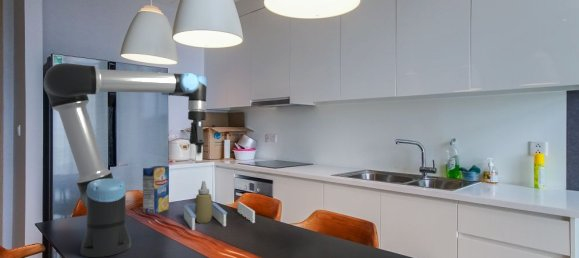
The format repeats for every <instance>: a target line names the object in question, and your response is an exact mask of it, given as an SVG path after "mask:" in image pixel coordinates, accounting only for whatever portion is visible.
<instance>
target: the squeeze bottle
mask: <svg viewBox="0 0 579 258" xmlns="http://www.w3.org/2000/svg"><path fill="white" fill-rule="evenodd" d="M197 192H198V194H196V197H195V203H196V204H195V215H196V218H195V221H196V223H199V224H207V223H211V221H212V218H213V207H212V203H213V199H212V194H210V189H209V188H207V183H206V181H205V180H204V181H203V180H202V182H201V187H200V189H199V188H198V191H197Z"/></svg>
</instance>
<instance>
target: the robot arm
mask: <svg viewBox="0 0 579 258" xmlns="http://www.w3.org/2000/svg"><path fill="white" fill-rule="evenodd" d="M42 86H43V89H44V91H45V93H46V94H47V97H48V100H49V103H50V106H51V109H53V110H54V111H57V112H58V114H59V116H60V120H61V123H62V126H63V129H64V133H65V136H66V139H67V141H68V144H69V148H70V151H71V153H72V157H73V160H74V163H75V165H76V169H77V172H78V175H79V176H78V178H77V179H76V185H77V188H78V190H79V194H80V196H79V197H80V200H81V203H82V204H83V206H85V208H86V231H85V234H84V236H83V240H82V242H81V245H80V255H81V256H83V257H87V258H102V257H109V256H114V255H117V254H121V253H125V252H126V251H128V250H129V249H130V248H131V247H132V239H131V236H130V234H129V232H128V228H127V225H126V193H127V188H126V183H125V182H124V181H123V180H121V179H116V178H114V177H113V173H112V171H111V170H109V169H108V168H106V166H105V162H104V160H103V157H102V156H103V155H102V154H101V151H100V147H99V144H98V141H97V138H96V134H95V131H94V128H93V125H92V122H91V119H90V115H89V112H88V108H87V106H88V105H87V104H89V102H90V100H89V96H88V95H97V94H98V93H99V92H103V93H106V92H107V93H108V92H109V93H155V94H156V93H160V94H161V95H164V96H169V97H170V96H174V97H175V96H176V97H185V98H186V97H187V98H188V99H187V100H188V101H187V102H188V103H187V110H188V112H187V120H189V121H192V122H190V134H189V141H188V142H189V159H195V162H196V161H197V162H202V161H203V152H204V151H203V150H204V149H203V145H204V144H205V137H204V127H203V126H204V122H203V121H205V120H207V119H206V117H207V112H206V110H207V106H208V104H207V88H208V87H207V86H208V84H207V77H206V76H205V75H199V74H198V75H196V74H194V73H192V72H185V73H172V72H171V73H170V72H156V71H155V72H154V71H139V70H138V71H136V70H135V71H134V70H119V69H103V68H102V69H101V68H98V67H96V65H86V64H77V63H69V62H62V63H61V62H60V63H56V64H54V65H52V66H51V67H49V68H48V69H47V71H46V73H45V76H44V78H43V82H42Z"/></svg>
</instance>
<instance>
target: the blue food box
mask: <svg viewBox="0 0 579 258" xmlns="http://www.w3.org/2000/svg"><path fill="white" fill-rule="evenodd" d="M169 187H170V166H168V165H167V166H166V165H155V166H147V167H143V168H142V213H143V212H144V213H143V214H151V213H153V214H154V215H155V214H158V213H161V212H163V211H167V210H169V208H170V197H169V196H170V194H169V193H170V188H169Z"/></svg>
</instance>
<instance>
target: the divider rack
mask: <svg viewBox="0 0 579 258" xmlns="http://www.w3.org/2000/svg"><path fill="white" fill-rule="evenodd" d="M195 204H196V202H195V203H194V202H193V203H186V204H185V205H182V207H183V219H184V220H185V222H186V223H187V224H188V227H189V228H190V229H191V230H192V231H196V215H195ZM212 207H213V215H212V217H213V218H214V219H216V220H217V222H219V223H220V225H222V226H223V227H226V226H227V215H228V212H227V211H226V210H225V209H223V208H222V207H221V206H220V205H218V203H216V202H212ZM237 213H239V214H240V215H241V214H242V215H241V216H243V218H245V217H246V218H245V219H247V220H250V221H249V222H250V223H252V224H255V223H256V211H255V210H253V208H251V207H249V206H248V205H245V204H244V203H243V202H241V201H237Z"/></svg>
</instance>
